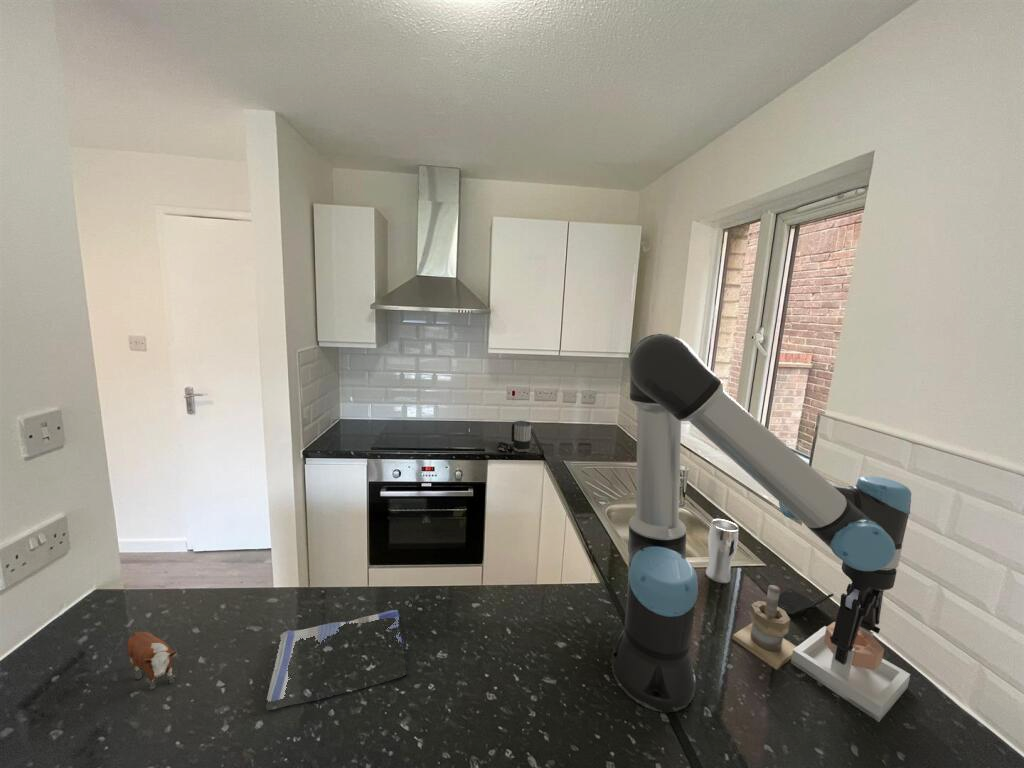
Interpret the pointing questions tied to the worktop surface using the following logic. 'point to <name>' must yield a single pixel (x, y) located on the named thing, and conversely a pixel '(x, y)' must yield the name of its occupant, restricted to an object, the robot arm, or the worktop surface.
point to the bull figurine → (150, 654)
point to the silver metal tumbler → (721, 549)
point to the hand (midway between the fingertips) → (848, 666)
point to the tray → (852, 677)
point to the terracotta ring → (860, 649)
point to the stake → (766, 636)
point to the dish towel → (319, 632)
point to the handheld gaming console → (797, 602)
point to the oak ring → (769, 620)
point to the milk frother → (520, 435)
